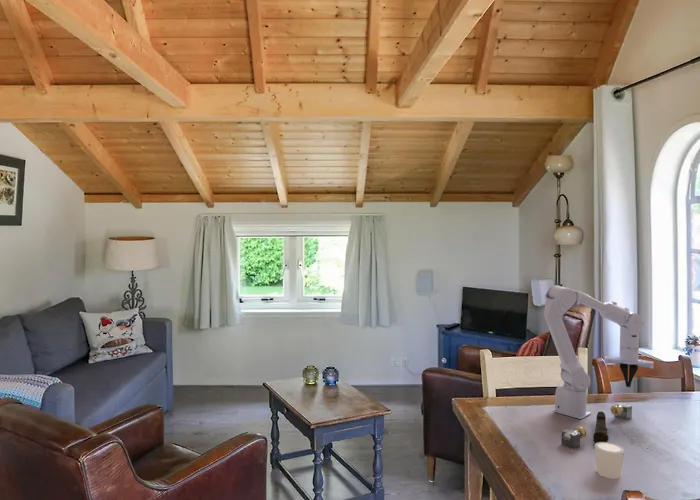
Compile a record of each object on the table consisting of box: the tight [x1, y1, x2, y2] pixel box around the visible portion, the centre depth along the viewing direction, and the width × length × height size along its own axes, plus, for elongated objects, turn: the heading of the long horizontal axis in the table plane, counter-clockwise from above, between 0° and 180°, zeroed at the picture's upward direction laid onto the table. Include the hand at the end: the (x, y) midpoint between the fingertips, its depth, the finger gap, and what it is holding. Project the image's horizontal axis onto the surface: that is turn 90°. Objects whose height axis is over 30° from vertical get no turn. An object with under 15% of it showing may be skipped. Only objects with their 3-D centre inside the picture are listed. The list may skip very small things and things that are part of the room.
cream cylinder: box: [594, 441, 625, 480], centre depth 133 cm, size 7×7×7 cm
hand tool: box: [592, 411, 610, 444], centre depth 159 cm, size 19×4×5 cm, turn 151°
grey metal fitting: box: [561, 426, 587, 450], centre depth 151 cm, size 7×4×5 cm, turn 122°
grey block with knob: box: [609, 402, 633, 420], centre depth 172 cm, size 7×4×5 cm, turn 122°
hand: (628, 386), depth 176 cm, fingers closed
